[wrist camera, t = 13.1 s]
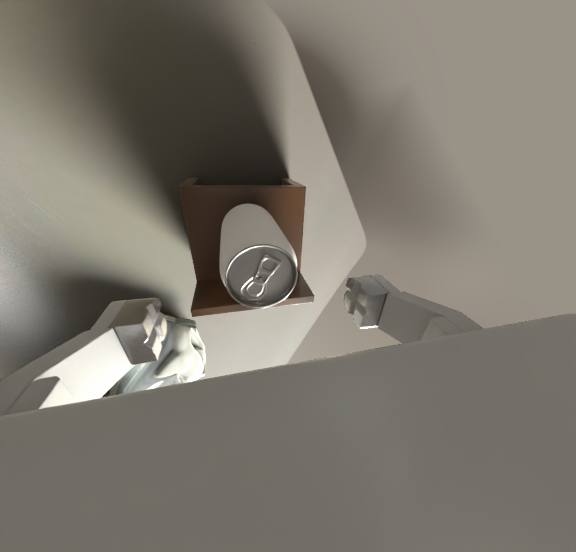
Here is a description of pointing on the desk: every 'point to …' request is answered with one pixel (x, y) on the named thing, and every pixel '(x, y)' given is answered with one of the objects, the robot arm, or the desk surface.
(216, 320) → the desk surface
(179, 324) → the baseball cleat
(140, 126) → the desk surface
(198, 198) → the wooden doll chair
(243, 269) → the can
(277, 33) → the desk surface
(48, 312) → the desk surface
